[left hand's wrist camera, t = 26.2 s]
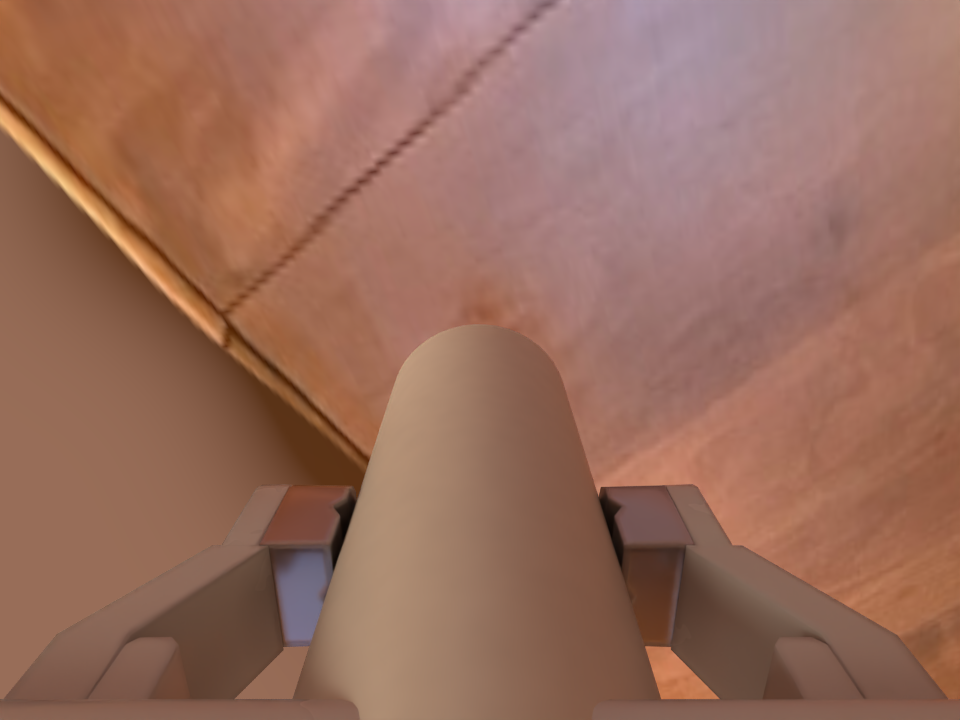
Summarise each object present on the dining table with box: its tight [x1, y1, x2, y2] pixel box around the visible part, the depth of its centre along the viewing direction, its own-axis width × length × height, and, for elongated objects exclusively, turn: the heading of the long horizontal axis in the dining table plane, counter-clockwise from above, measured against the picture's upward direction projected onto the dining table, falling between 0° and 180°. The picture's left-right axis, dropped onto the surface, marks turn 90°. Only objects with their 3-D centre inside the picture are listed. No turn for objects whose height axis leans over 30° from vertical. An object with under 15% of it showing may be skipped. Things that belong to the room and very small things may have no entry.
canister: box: [293, 325, 661, 720], centre depth 10 cm, size 4×4×10 cm
